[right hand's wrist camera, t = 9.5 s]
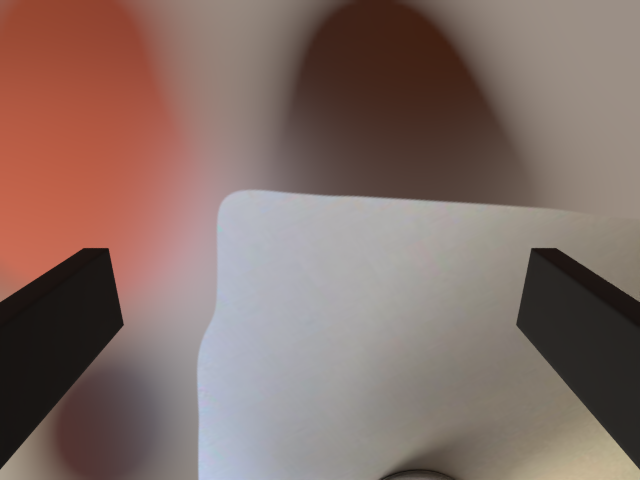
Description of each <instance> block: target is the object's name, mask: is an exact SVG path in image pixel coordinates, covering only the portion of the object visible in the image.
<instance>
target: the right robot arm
mask: <svg viewBox="0 0 640 480" xmlns="http://www.w3.org/2000/svg"><path fill="white" fill-rule="evenodd" d="M123 325H124V324H123V319H122V314H121V309H120V304H119V299H118V294H117V289H116V284H115V278H114V273H113V268H112V263H111V258H110V253H109V249H108V248H83V249H82V250H80V251H79V252H77V253H76V254H74V255H73V256H71V257H70V258H68V259H66V260H65V261H63V262H62V263H60V264H59V265H57V266H56V267H54V268H52V269H51V270H49V271H48V272H46V273H45V274H43V275H42V276H40V277H39V278H37V279H35V280H34V281H32V282H31V283H29V284H28V285H26V286H25V287H23V288H22V289H20V290H19V291H17V292H15V293H14V294H12V295H11V296H9V297H8V298H6V299H5V300H3V301H1V302H0V469H1V468H2V467H3V466H4V465H5V463H6V462H7V461H8V460H9V459H10V458H11V456H12V455H13V454H14V453H15V452H16V450H17V449H18V448H19V447H20V446H21V445H22V444H23V442H24V441H25V440H26V439H27V438H28V436H29V435H30V434H31V433H32V432H33V431H34V429H35V428H36V427H37V426H38V425H39V423H40V422H41V421H42V420H43V419H44V418H45V417H46V415H47V414H48V413H49V412H50V411H51V410H52V408H53V407H54V406H55V405H56V404H57V403H58V401H59V400H60V399H61V398H62V397H63V395H64V394H65V393H66V392H67V391H68V390H69V388H70V387H71V386H72V385H73V384H74V383H75V381H76V380H77V379H78V378H79V377H80V376H81V374H82V373H83V372H84V371H85V370H86V369H87V367H88V366H89V365H90V364H91V363H92V362H93V360H94V359H95V358H96V357H97V356H98V354H99V353H100V352H101V351H102V350H103V349H104V348H105V346H106V345H107V344H108V343H109V342H110V341H111V339H112V338H113V337H114V336H115V335H116V333H117V332H118V331H119V330H120V329H121V328H122V326H123ZM516 325H517V326H518V328H519V329H520V330H521V331H522V332H523V333H524V335H525V336H526V337H527V338H528V339H529V341H530V342H531V343H532V344H533V345H534V346H535V348H536V349H537V350H538V351H539V352H540V353H541V355H542V356H543V357H544V358H545V359H546V360H547V362H548V363H549V364H550V365H551V366H552V367H553V369H554V370H555V371H556V372H557V373H558V374H559V376H560V377H561V378H562V379H563V380H564V381H565V383H566V384H567V385H568V386H569V387H570V388H571V390H572V391H573V392H574V393H575V394H576V396H577V397H578V398H579V399H580V400H581V401H582V403H583V404H584V405H585V406H586V407H587V408H588V410H589V411H590V412H591V413H592V414H593V415H594V417H595V418H596V419H597V420H598V421H599V422H600V424H601V425H602V426H603V427H604V428H605V429H606V431H607V432H608V433H609V434H610V435H611V436H612V438H613V439H614V440H615V441H616V442H617V444H618V445H619V446H620V447H621V448H622V449H623V451H624V452H625V453H626V454H627V455H628V456H629V458H630V459H631V460H632V461H633V462H634V463H635V465H636V466H637V467H638V468H639V469H640V302H639V301H637V300H635V299H634V298H632V297H631V296H629V295H628V294H626V293H625V292H623V291H622V290H620V289H618V288H617V287H615V286H614V285H612V284H611V283H609V282H608V281H606V280H605V279H603V278H601V277H600V276H598V275H597V274H595V273H594V272H592V271H591V270H589V269H588V268H586V267H584V266H583V265H581V264H580V263H578V262H577V261H575V260H574V259H572V258H571V257H569V256H567V255H566V254H564V253H563V252H561V251H560V250H558V249H557V248H531V253H530V258H529V263H528V268H527V273H526V278H525V284H524V289H523V294H522V299H521V304H520V309H519V314H518V319H517V324H516ZM383 480H453V479H452V478H450V477H448V476H446V475H443V474H440V473H437V472H432V471H423V470H416V471H406V472H401V473H397V474H394V475H392V476H389V477H387V478H385V479H383Z"/></svg>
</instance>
